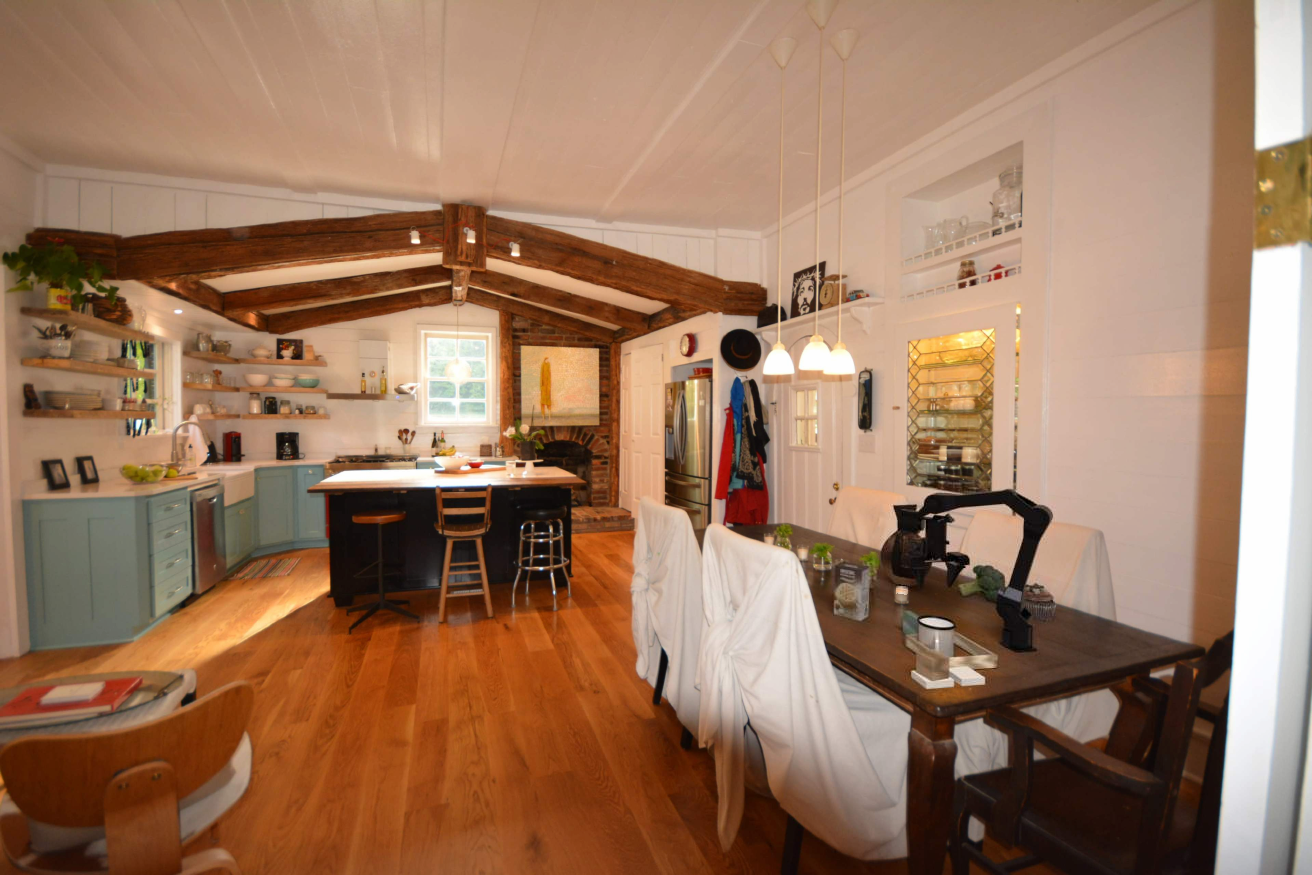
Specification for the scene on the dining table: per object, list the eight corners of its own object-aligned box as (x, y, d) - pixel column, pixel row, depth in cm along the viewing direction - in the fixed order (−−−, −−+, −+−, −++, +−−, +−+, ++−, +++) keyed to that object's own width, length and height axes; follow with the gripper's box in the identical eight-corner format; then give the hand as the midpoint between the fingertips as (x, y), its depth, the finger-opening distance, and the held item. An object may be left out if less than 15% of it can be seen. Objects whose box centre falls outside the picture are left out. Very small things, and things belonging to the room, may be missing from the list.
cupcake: (1043, 624, 175) (1044, 591, 174) (1012, 613, 184) (1013, 582, 183) (1063, 619, 179) (1064, 587, 178) (1031, 609, 188) (1032, 578, 187)
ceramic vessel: (920, 595, 202) (922, 510, 201) (871, 585, 214) (872, 504, 212) (939, 582, 217) (941, 502, 216) (892, 573, 229) (893, 498, 228)
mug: (916, 645, 159) (916, 612, 159) (954, 650, 155) (955, 617, 155) (915, 662, 148) (916, 627, 148) (957, 669, 144) (958, 633, 144)
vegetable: (957, 582, 210) (1001, 568, 204) (972, 615, 201) (1018, 601, 195) (948, 568, 203) (993, 553, 197) (962, 601, 194) (1010, 587, 188)
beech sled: (936, 630, 169) (936, 609, 169) (997, 667, 145) (997, 642, 144) (888, 633, 167) (888, 611, 166) (942, 671, 143) (942, 645, 142)
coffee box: (832, 614, 183) (833, 564, 183) (841, 609, 188) (842, 560, 187) (860, 621, 177) (861, 569, 176) (869, 616, 182) (870, 565, 181)
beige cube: (932, 669, 141) (933, 649, 141) (949, 678, 136) (949, 657, 136) (916, 672, 139) (916, 651, 139) (932, 681, 135) (932, 660, 134)
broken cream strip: (967, 672, 142) (967, 666, 142) (984, 684, 137) (985, 677, 136) (911, 677, 140) (911, 670, 140) (926, 688, 134) (926, 682, 134)
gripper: (947, 529, 180) (946, 578, 180) (891, 531, 177) (890, 581, 178) (971, 537, 169) (970, 589, 169) (912, 539, 166) (911, 592, 167)
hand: (934, 588), depth 171 cm, fingers open, 9 cm apart
